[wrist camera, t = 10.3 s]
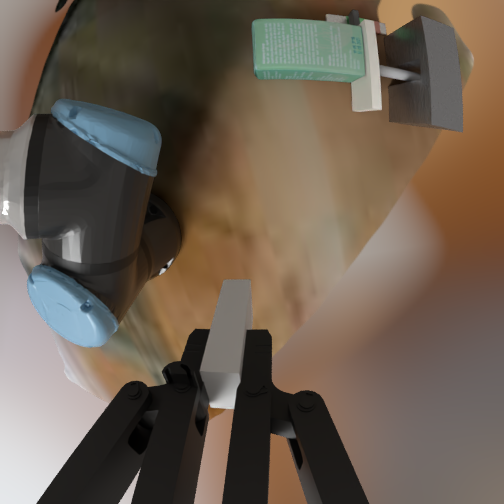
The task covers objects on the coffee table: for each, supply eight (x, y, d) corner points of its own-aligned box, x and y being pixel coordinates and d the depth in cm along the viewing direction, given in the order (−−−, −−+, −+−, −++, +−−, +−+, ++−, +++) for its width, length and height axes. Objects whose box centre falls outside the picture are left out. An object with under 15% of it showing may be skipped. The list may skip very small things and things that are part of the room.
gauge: (332, 116, 34) (358, 113, 23) (324, 15, 26) (344, -20, 16) (416, 126, 33) (462, 132, 22) (409, 31, 25) (449, 12, 15)
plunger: (352, 111, 33) (372, 108, 26) (344, 17, 26) (360, -3, 19) (428, 122, 32) (457, 125, 25) (421, 34, 25) (447, 23, 18)
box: (253, 35, 29) (249, 17, 22) (347, 39, 28) (363, 24, 21) (255, 80, 32) (252, 70, 26) (350, 83, 31) (368, 76, 25)
